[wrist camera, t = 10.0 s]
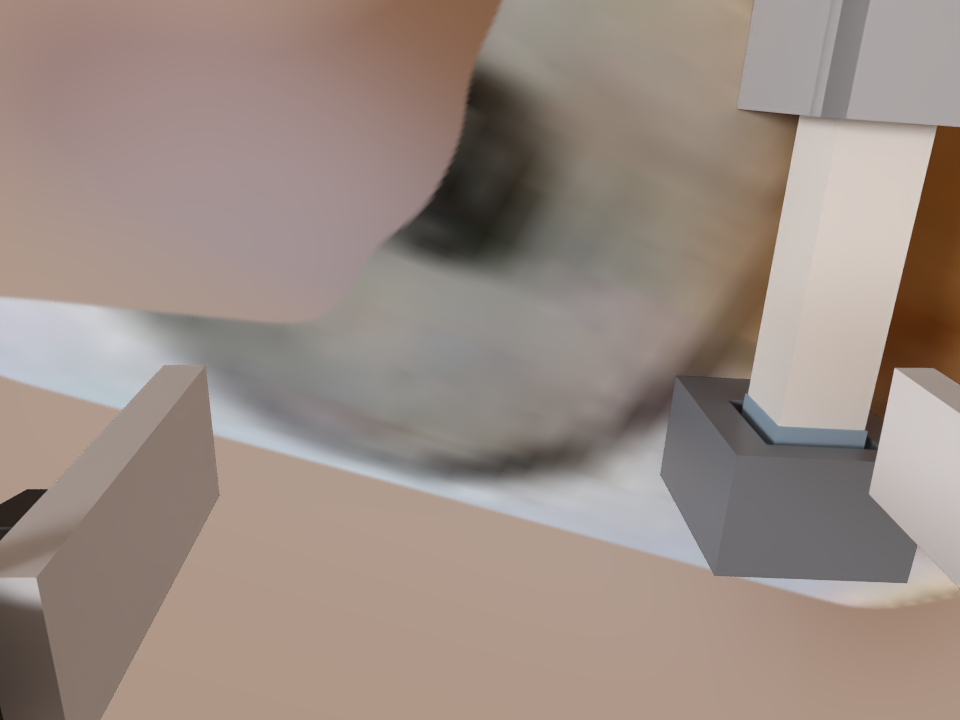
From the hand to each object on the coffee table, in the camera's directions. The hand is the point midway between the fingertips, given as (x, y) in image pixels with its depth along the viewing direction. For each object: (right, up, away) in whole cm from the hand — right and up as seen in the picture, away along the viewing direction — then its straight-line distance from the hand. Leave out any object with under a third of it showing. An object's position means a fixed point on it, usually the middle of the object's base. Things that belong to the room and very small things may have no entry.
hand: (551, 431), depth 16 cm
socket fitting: (+14, -3, +30) cm, 33 cm away
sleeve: (+15, +18, +23) cm, 33 cm away
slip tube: (+14, +6, +23) cm, 28 cm away
